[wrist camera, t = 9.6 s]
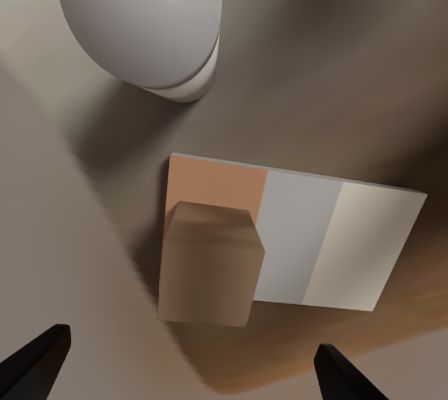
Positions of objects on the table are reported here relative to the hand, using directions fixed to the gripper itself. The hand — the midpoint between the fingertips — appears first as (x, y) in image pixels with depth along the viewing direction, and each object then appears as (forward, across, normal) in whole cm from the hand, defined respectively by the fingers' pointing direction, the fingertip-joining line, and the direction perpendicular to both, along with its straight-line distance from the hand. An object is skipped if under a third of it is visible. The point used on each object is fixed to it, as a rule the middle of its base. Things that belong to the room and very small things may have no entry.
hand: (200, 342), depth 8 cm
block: (+8, 0, 0) cm, 8 cm away
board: (+9, -6, 0) cm, 11 cm away
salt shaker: (+9, +3, -10) cm, 14 cm away
